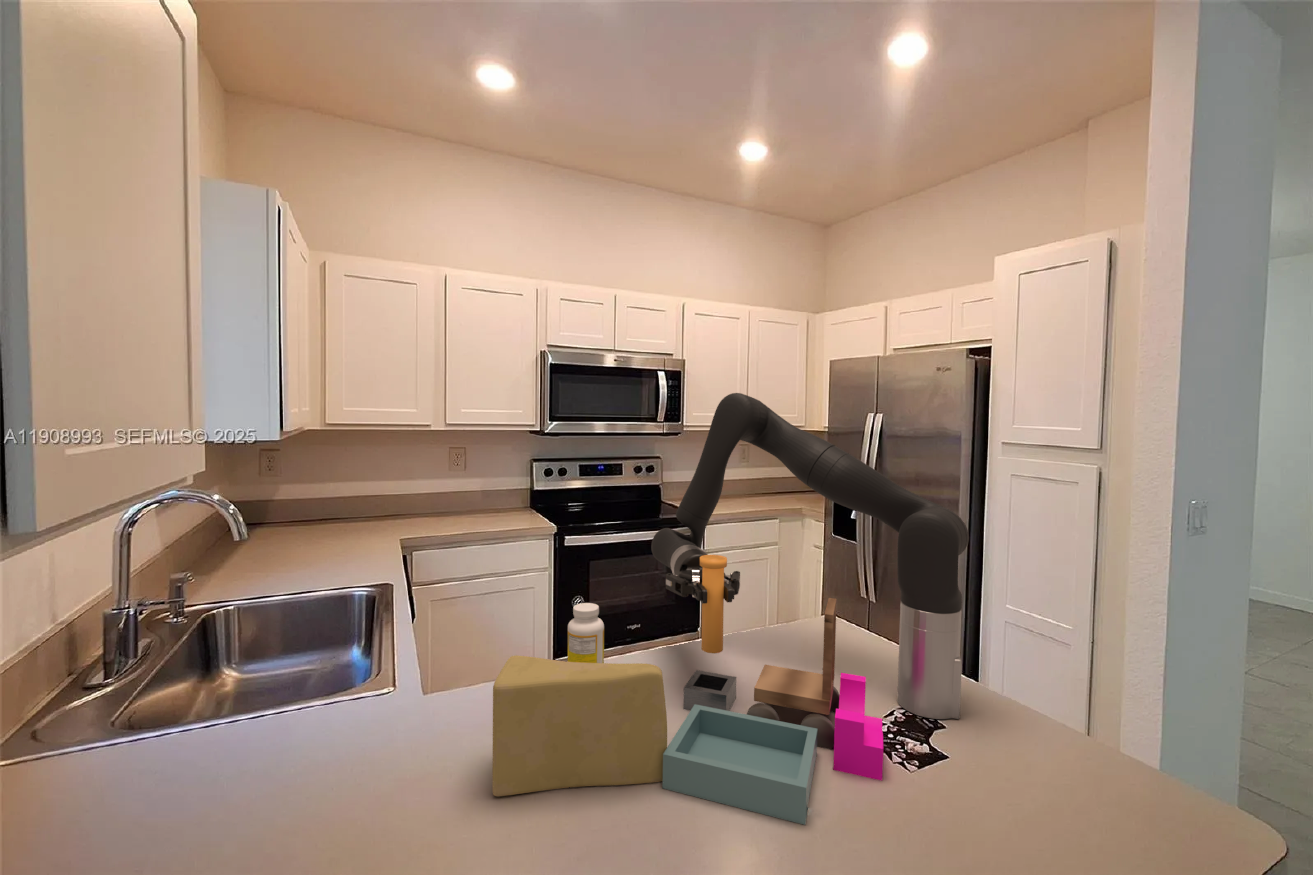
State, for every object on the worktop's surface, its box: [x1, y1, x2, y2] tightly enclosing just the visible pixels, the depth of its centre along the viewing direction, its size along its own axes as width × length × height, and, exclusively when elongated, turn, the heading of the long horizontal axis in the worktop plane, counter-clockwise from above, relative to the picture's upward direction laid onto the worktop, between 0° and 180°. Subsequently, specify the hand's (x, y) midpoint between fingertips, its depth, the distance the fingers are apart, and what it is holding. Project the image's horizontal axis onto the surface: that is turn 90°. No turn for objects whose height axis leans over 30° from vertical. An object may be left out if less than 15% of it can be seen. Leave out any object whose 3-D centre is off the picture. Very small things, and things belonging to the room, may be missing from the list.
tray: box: [662, 704, 818, 826], centre depth 79 cm, size 18×14×4 cm
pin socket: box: [682, 669, 737, 712], centre depth 96 cm, size 7×7×4 cm
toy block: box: [832, 672, 884, 781], centre depth 86 cm, size 15×6×8 cm, turn 159°
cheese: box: [491, 654, 668, 797], centre depth 77 cm, size 22×10×15 cm, turn 90°
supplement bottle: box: [567, 602, 605, 663], centre depth 107 cm, size 7×7×13 cm
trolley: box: [746, 597, 840, 750], centre depth 91 cm, size 13×12×20 cm
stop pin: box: [700, 554, 728, 654], centre depth 95 cm, size 4×4×15 cm
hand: (717, 596), depth 92 cm, fingers closed on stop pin, 3 cm apart
